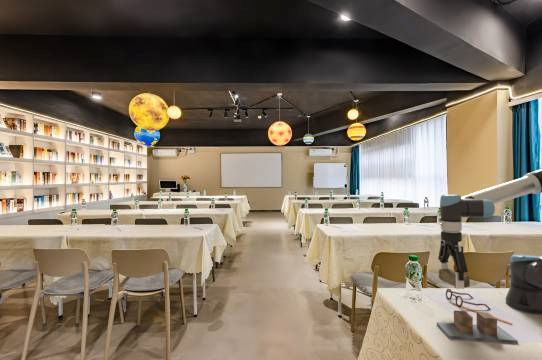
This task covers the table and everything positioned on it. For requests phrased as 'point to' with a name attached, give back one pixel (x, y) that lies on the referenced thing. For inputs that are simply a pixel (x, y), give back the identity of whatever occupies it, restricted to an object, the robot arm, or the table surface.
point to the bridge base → (475, 328)
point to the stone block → (452, 277)
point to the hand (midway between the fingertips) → (452, 282)
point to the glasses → (462, 299)
